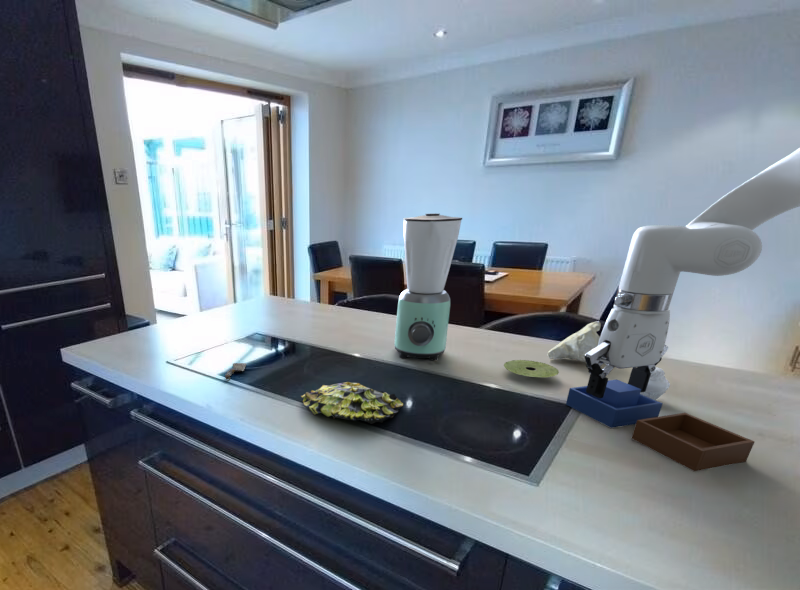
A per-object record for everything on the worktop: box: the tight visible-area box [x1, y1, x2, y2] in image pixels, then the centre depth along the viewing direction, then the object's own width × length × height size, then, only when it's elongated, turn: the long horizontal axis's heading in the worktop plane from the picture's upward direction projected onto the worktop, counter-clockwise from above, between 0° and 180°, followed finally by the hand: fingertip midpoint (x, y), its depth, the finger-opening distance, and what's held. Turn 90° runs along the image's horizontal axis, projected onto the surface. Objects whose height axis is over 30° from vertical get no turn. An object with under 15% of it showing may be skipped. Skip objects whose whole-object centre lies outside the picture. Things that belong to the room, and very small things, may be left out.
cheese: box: [546, 320, 601, 363], centre depth 110 cm, size 15×7×15 cm
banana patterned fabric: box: [300, 381, 404, 424], centre depth 88 cm, size 20×16×6 cm
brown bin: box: [630, 412, 756, 472], centre depth 71 cm, size 10×10×4 cm
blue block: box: [592, 379, 641, 409], centre depth 83 cm, size 5×5×5 cm
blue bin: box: [565, 385, 663, 429], centre depth 83 cm, size 10×10×4 cm
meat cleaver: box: [224, 362, 247, 380], centre depth 108 cm, size 12×1×5 cm
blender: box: [393, 212, 463, 362], centre depth 112 cm, size 19×13×35 cm
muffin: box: [640, 366, 671, 401], centre depth 88 cm, size 6×6×7 cm
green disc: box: [503, 359, 560, 378], centre depth 101 cm, size 11×11×2 cm
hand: (615, 392), depth 82 cm, fingers open, 9 cm apart
